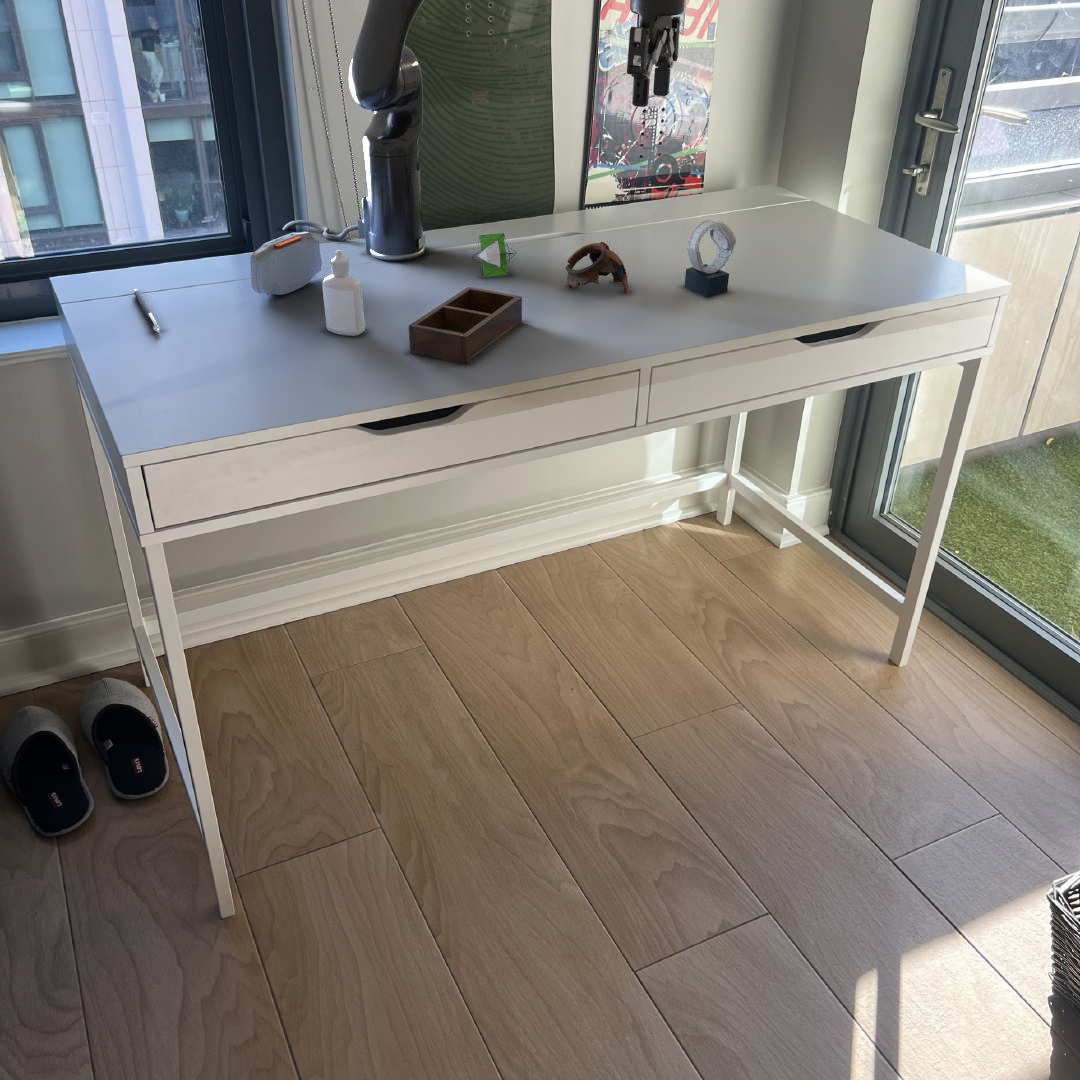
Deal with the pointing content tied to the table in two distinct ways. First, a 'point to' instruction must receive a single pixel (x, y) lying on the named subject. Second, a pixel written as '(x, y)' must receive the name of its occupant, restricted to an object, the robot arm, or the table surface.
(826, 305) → the table surface
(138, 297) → the pen
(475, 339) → the brown wooden divided tray
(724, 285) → the watch
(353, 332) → the eye dropper bottle
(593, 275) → the broken clay pot
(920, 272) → the table surface
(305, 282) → the white plastic case
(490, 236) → the geometric puzzle
